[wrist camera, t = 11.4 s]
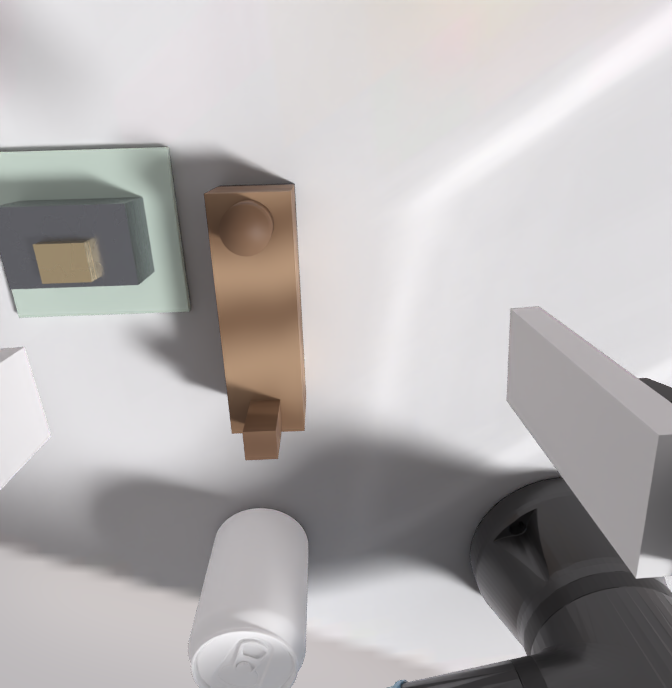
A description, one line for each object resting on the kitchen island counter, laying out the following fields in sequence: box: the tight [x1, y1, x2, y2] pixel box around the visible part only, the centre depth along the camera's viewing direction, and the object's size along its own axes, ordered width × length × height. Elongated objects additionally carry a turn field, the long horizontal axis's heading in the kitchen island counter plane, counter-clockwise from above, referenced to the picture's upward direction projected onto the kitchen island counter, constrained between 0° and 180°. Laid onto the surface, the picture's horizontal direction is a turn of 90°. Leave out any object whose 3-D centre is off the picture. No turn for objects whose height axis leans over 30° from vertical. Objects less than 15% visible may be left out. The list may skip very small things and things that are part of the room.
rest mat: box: [0, 147, 191, 318], centre depth 35 cm, size 11×12×1 cm
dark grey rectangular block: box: [0, 197, 155, 289], centre depth 33 cm, size 5×8×4 cm, turn 91°
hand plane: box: [204, 184, 306, 460], centre depth 34 cm, size 16×5×9 cm, turn 2°
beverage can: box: [188, 508, 308, 688], centre depth 40 cm, size 8×8×12 cm
